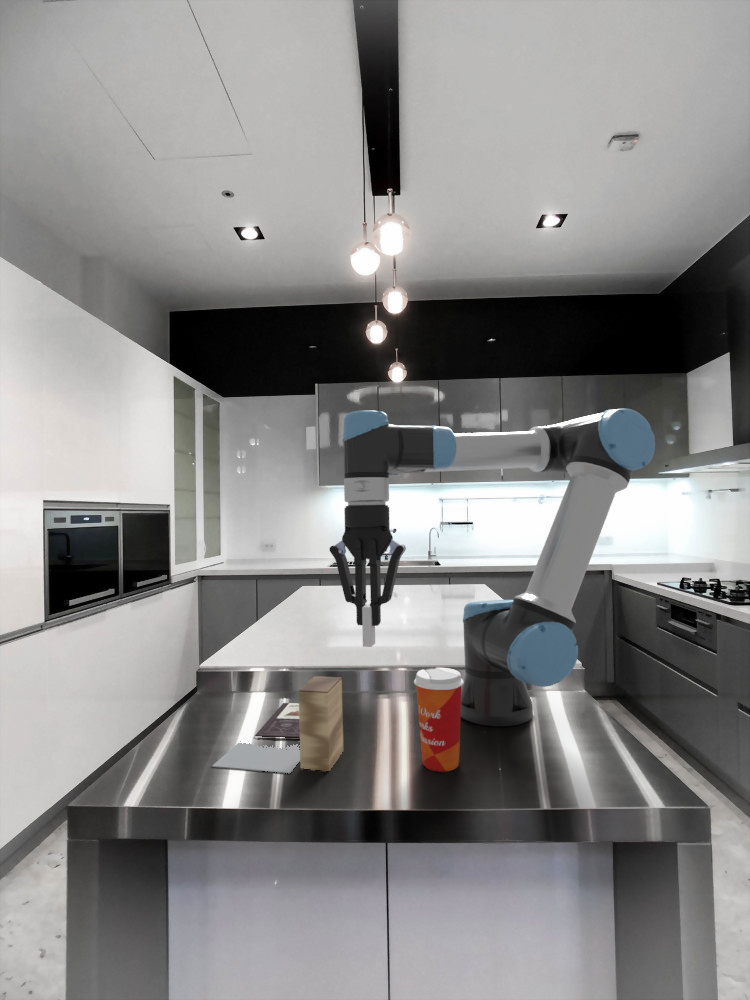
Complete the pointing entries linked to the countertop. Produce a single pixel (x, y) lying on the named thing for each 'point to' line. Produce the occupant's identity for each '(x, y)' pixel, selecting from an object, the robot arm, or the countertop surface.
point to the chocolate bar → (282, 722)
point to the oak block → (321, 723)
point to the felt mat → (260, 758)
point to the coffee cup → (439, 717)
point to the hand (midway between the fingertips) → (369, 644)
